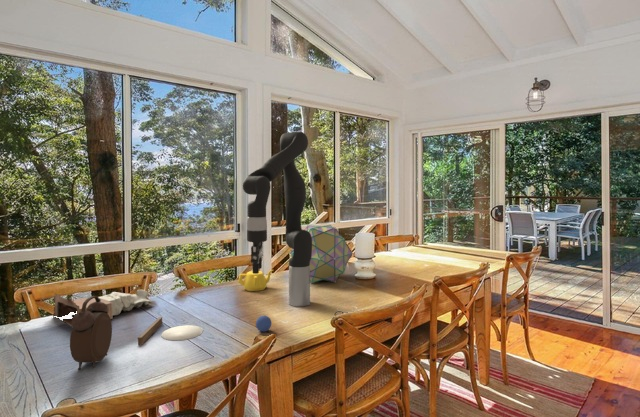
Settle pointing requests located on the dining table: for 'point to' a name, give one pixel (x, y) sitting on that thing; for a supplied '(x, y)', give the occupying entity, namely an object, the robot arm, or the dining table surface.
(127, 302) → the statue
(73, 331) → the alarm clock
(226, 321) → the dining table surface
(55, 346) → the dining table surface
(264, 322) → the ball
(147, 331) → the strip
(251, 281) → the teapot
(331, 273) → the sculpture
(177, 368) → the dining table surface
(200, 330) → the disc
